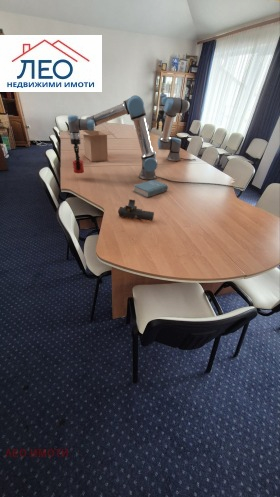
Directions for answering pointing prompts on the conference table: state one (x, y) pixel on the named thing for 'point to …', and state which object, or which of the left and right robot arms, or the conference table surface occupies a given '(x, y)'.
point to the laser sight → (135, 212)
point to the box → (95, 144)
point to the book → (150, 188)
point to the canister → (80, 167)
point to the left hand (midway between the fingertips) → (78, 167)
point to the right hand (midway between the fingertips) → (159, 130)
